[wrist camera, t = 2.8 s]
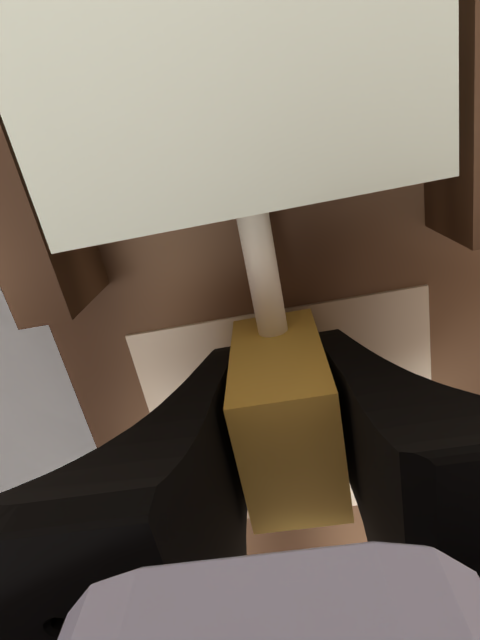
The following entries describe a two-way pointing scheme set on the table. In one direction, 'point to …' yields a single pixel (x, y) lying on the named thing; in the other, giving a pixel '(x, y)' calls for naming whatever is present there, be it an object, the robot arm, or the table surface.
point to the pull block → (234, 169)
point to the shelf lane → (235, 297)
